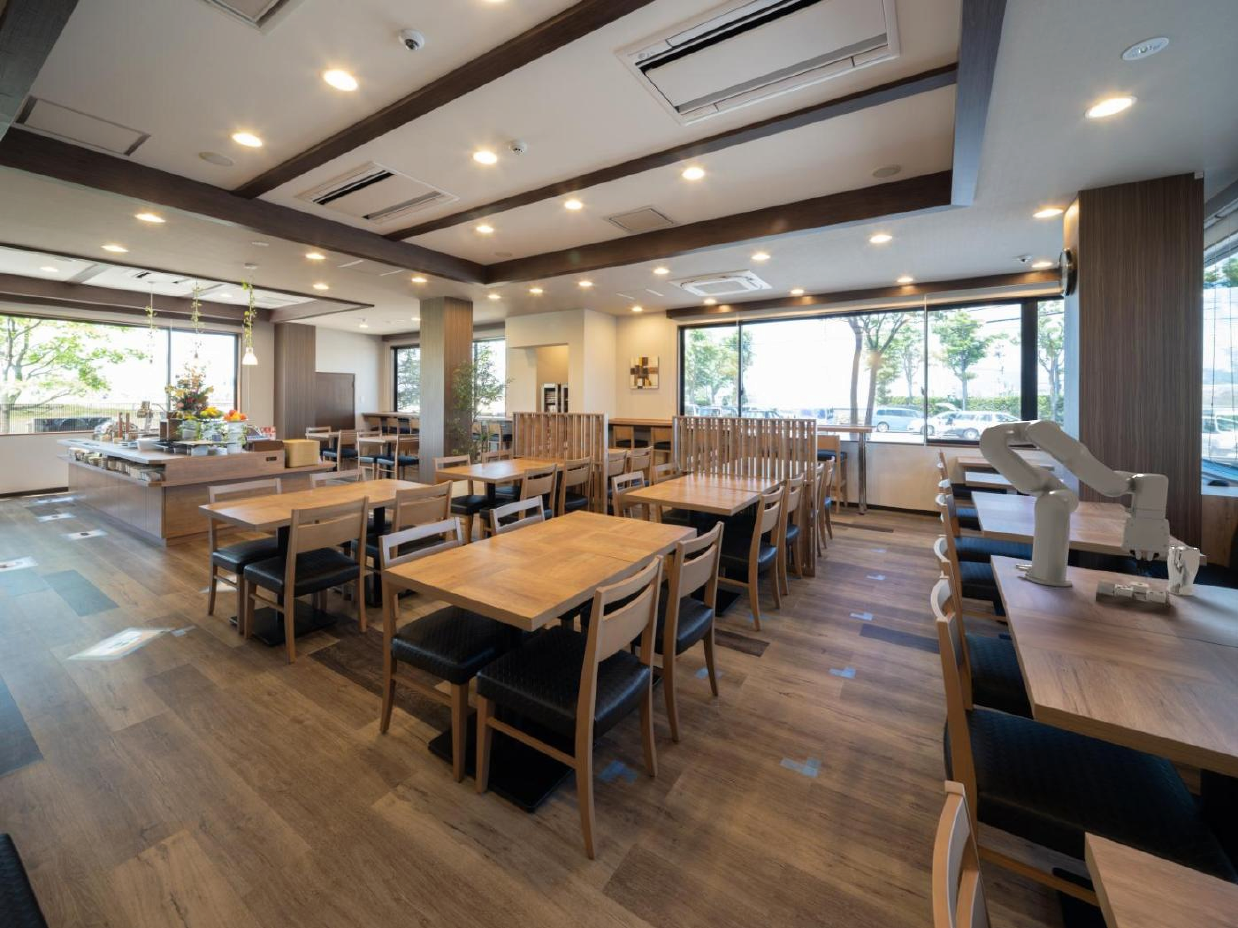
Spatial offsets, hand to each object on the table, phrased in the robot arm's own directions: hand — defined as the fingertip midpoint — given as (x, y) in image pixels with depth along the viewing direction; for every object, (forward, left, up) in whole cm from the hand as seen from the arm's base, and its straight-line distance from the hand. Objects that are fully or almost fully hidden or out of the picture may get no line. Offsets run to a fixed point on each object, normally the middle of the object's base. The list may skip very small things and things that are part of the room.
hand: (1142, 571), depth 164 cm
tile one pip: (0, 0, -7) cm, 7 cm away
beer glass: (+9, +17, -9) cm, 22 cm away
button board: (-2, -4, -9) cm, 10 cm away
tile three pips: (-4, -7, -7) cm, 11 cm away
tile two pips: (+3, -7, -7) cm, 10 cm away
